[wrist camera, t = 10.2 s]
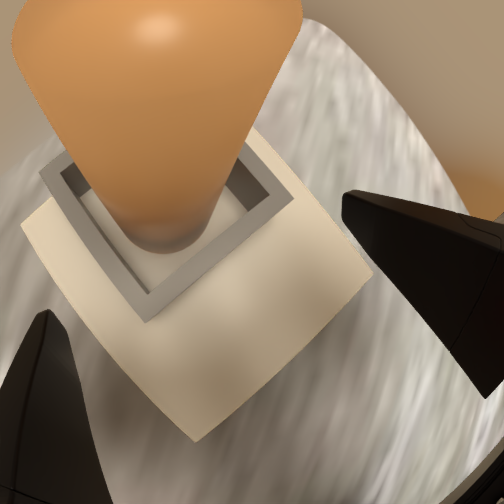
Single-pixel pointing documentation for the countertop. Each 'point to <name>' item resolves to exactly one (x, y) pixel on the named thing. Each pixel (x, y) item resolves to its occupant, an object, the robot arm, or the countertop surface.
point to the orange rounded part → (154, 98)
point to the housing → (202, 284)
